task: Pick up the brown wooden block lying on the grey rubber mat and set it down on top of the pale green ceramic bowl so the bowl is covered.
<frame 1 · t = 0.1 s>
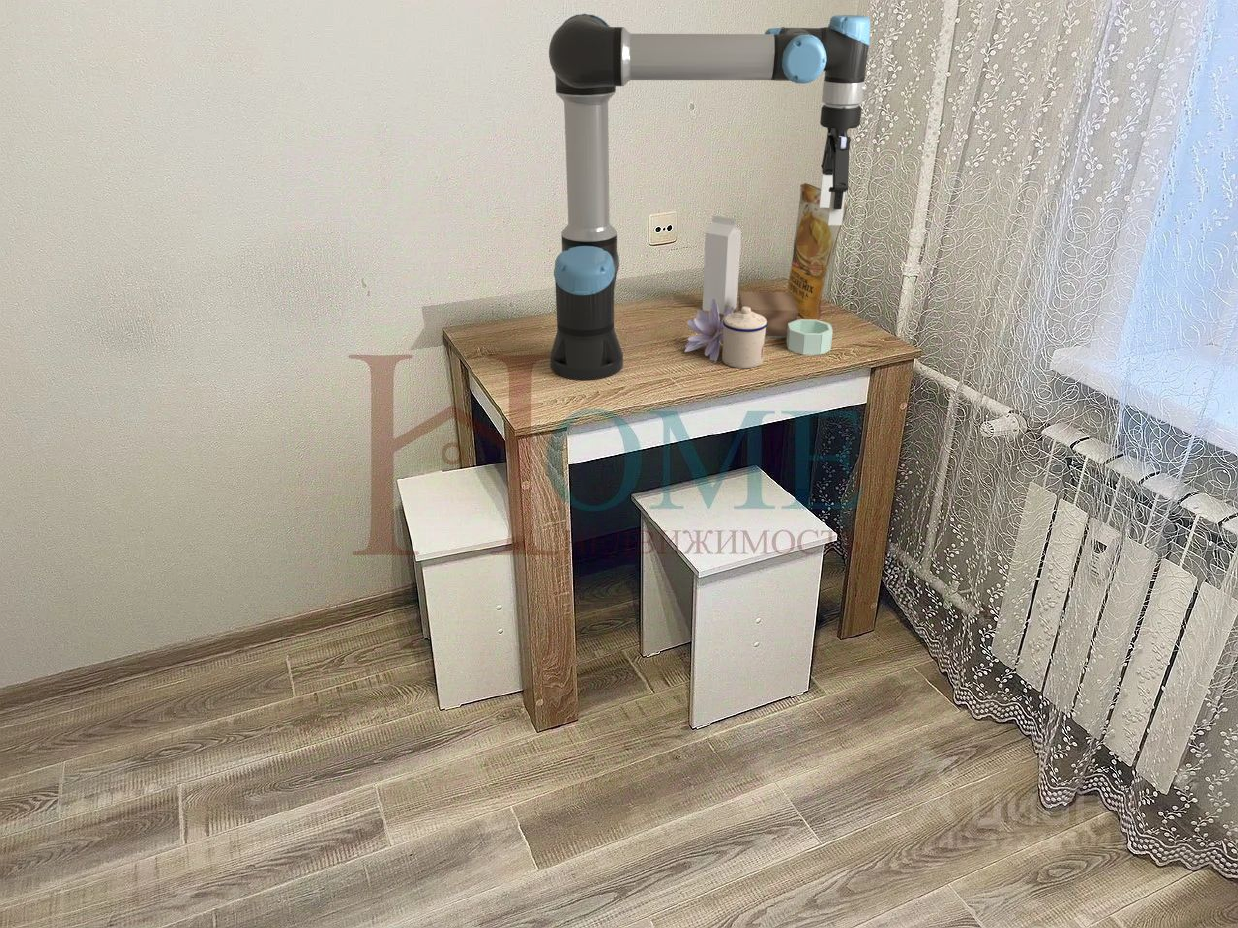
hand: (830, 216, 189), 28 cm above the table, tool pointing down, fingers open, 13 cm apart
milk: (719, 310, 222), on the table
brown wooden block: (765, 326, 211), resting on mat
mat: (765, 327, 211), on the table
water lily: (706, 353, 199), on the table
bowl: (808, 348, 201), on the table
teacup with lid: (739, 359, 196), on the table
pancake mix bag: (805, 311, 221), on the table
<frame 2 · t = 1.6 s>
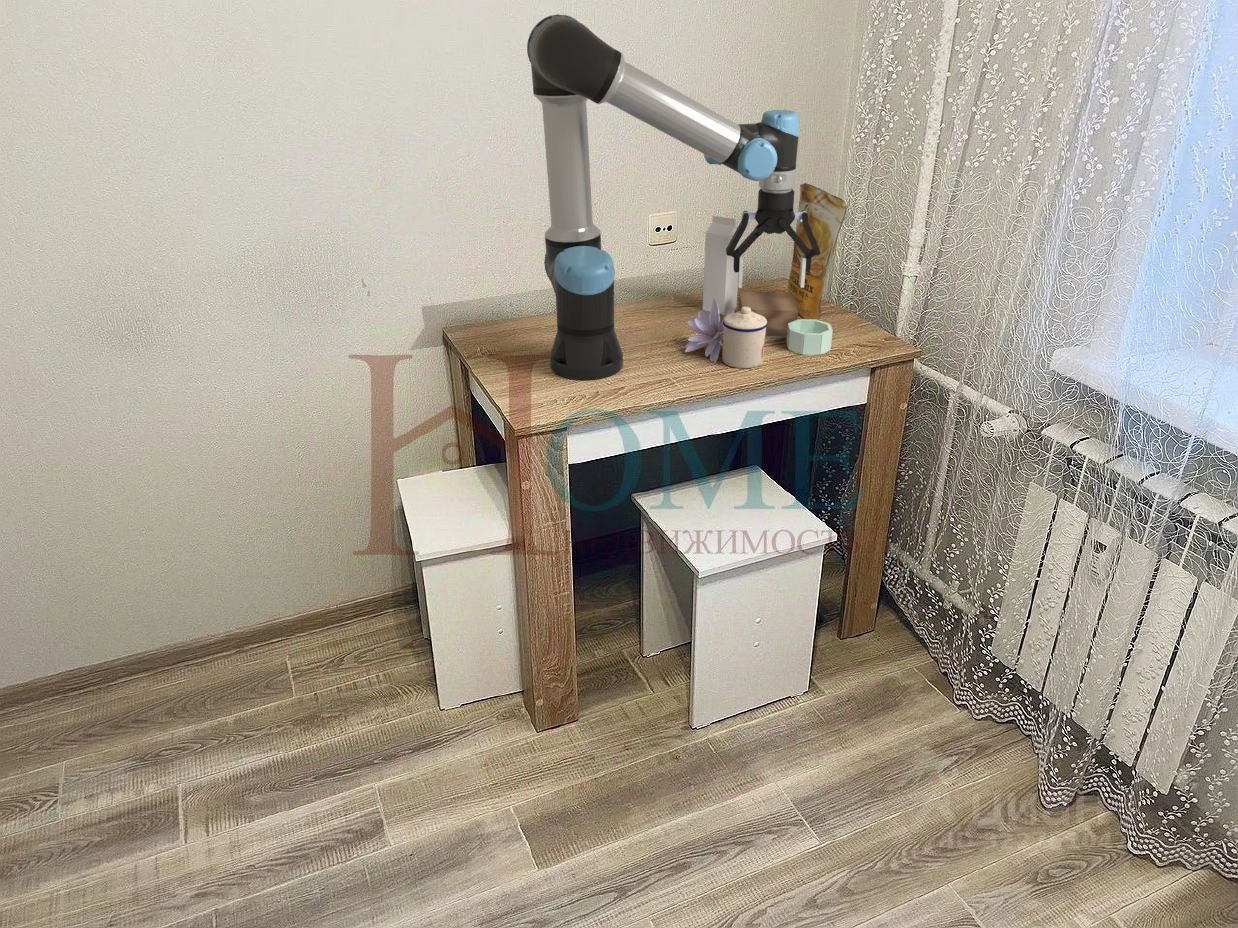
hand: (770, 286, 207), 10 cm above the table, tool pointing down, fingers open, 13 cm apart
nothing on the table moved.
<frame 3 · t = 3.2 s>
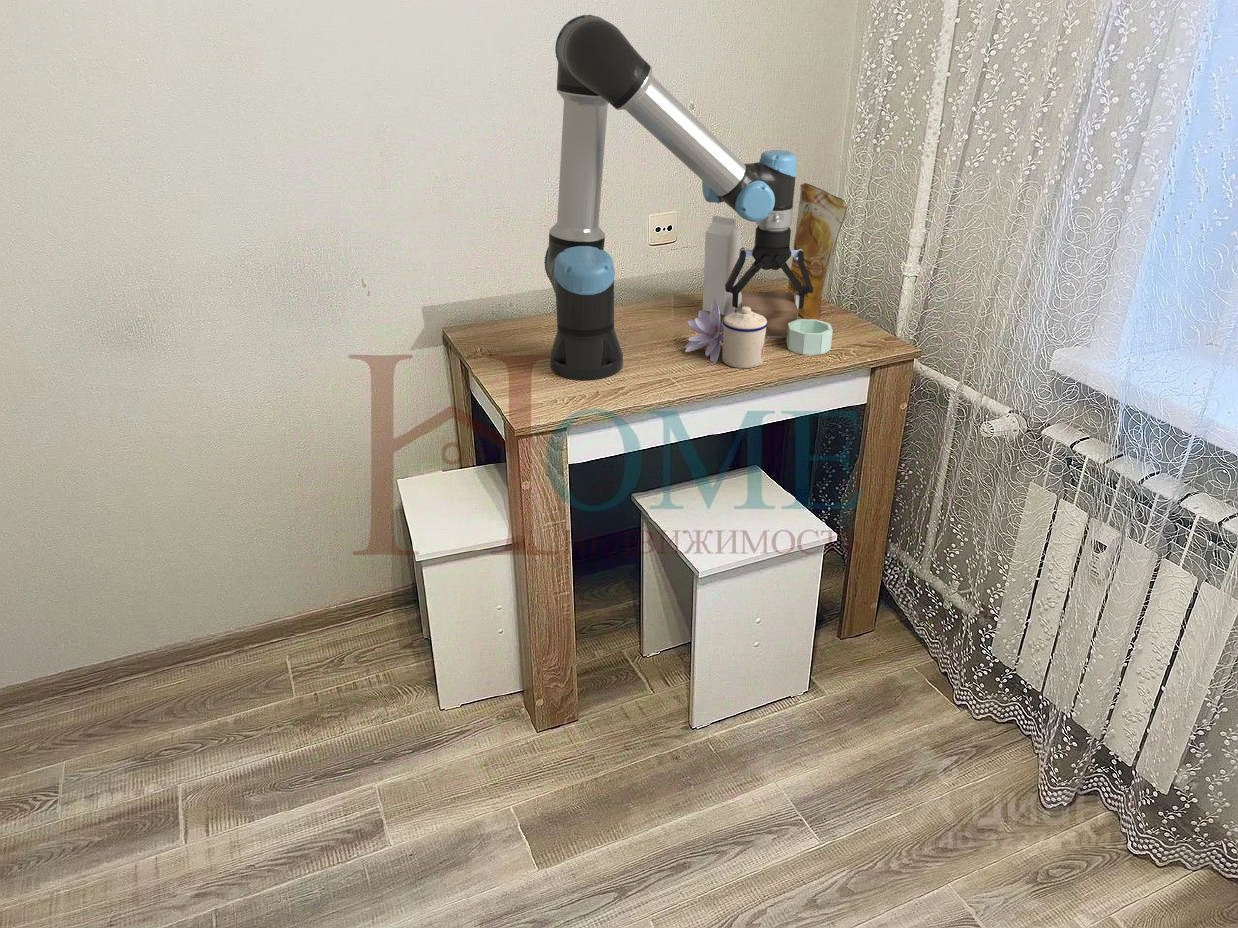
hand: (766, 321, 211), 1 cm above the table, tool pointing down, fingers closed on brown wooden block, 12 cm apart
brown wooden block: (765, 326, 211), resting on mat, touching gripper
water lily: (707, 353, 199), on the table, touching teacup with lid
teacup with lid: (739, 359, 196), on the table, touching water lily
everything else where it was.
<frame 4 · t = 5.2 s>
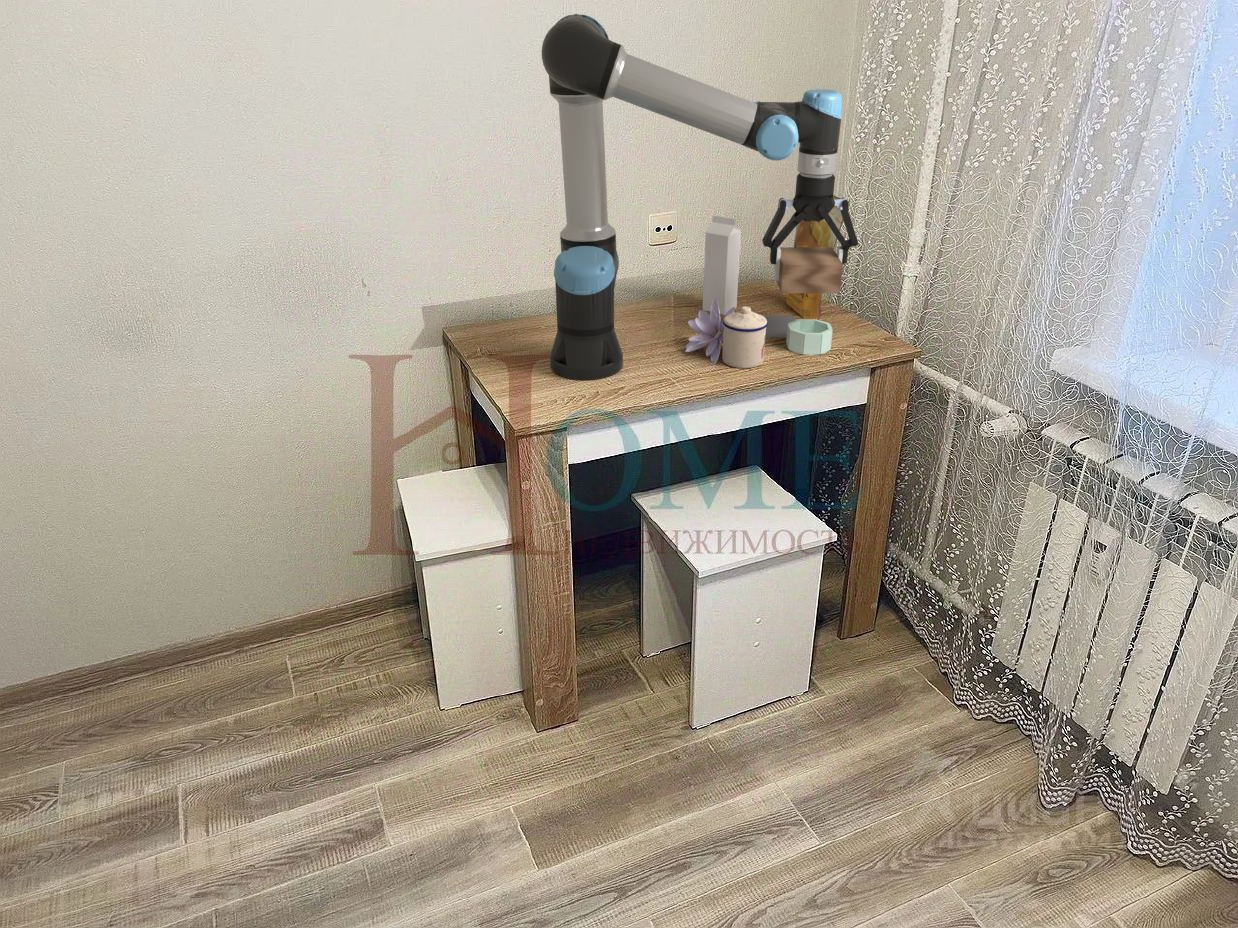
hand: (806, 279, 196), 15 cm above the table, tool pointing down, fingers closed on brown wooden block, 12 cm apart
brown wooden block: (805, 283, 196), point 13 cm above the table, touching gripper
everything else where it was.
when the fingers open (7 cm above the table, at t = 7.5 s): brown wooden block drops 1 cm, resting on bowl.
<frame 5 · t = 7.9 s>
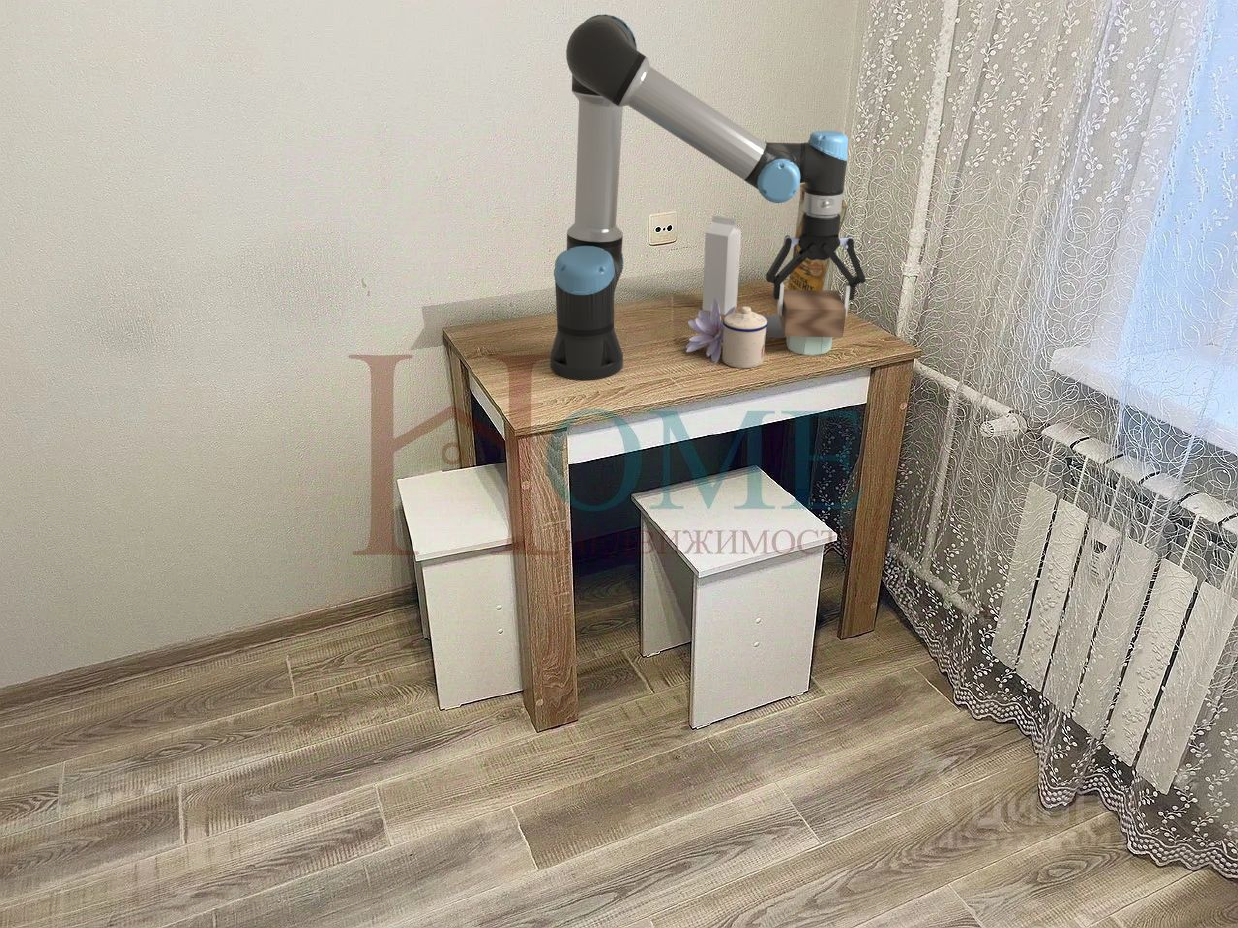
hand: (811, 314, 197), 8 cm above the table, tool pointing down, fingers open, 13 cm apart
brown wooden block: (809, 326, 198), point 5 cm above the table, touching bowl
bowl: (808, 348, 201), on the table, touching brown wooden block
everything else where it was.
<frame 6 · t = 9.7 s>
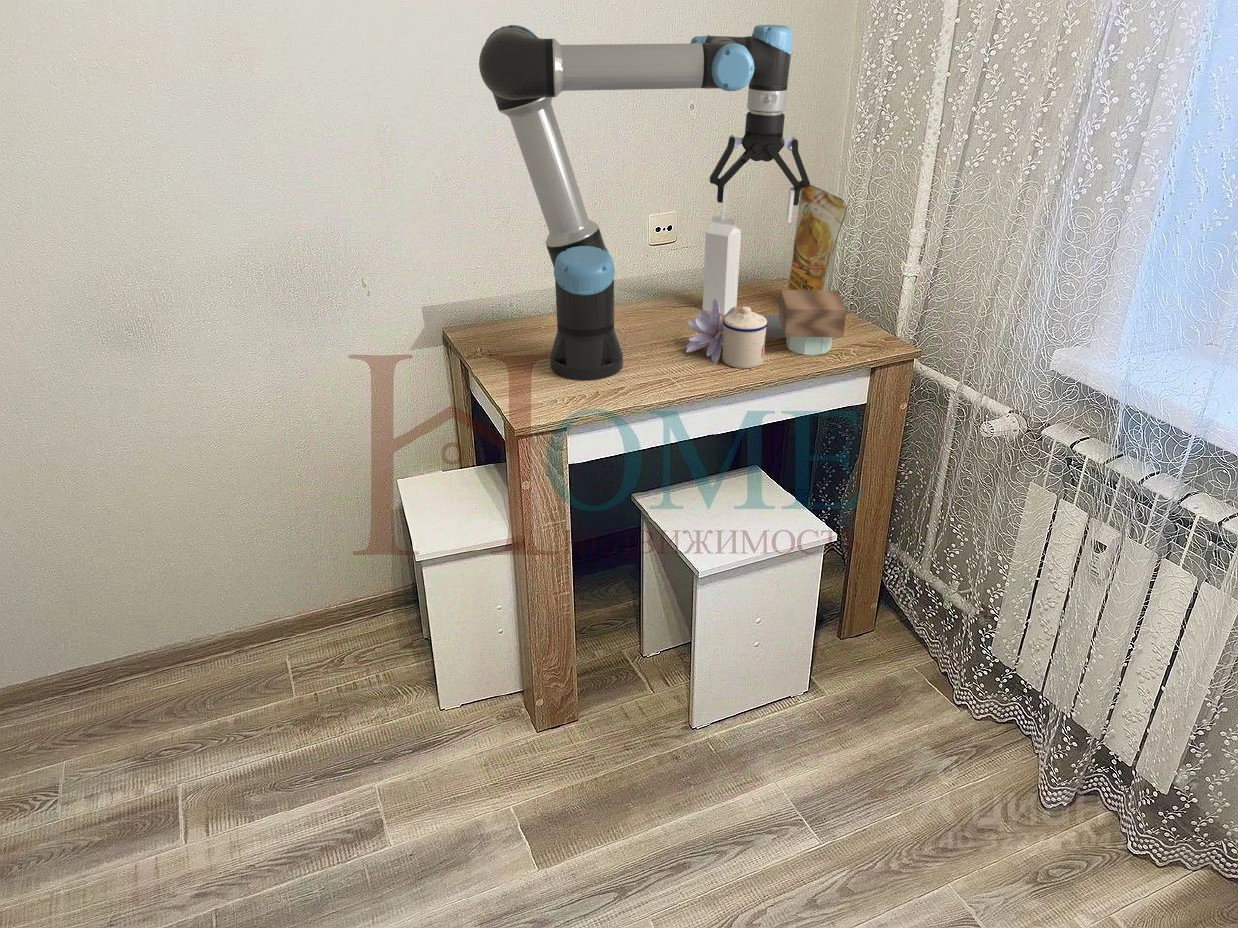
hand: (755, 219, 194), 26 cm above the table, tool pointing down, fingers open, 13 cm apart
nothing on the table moved.
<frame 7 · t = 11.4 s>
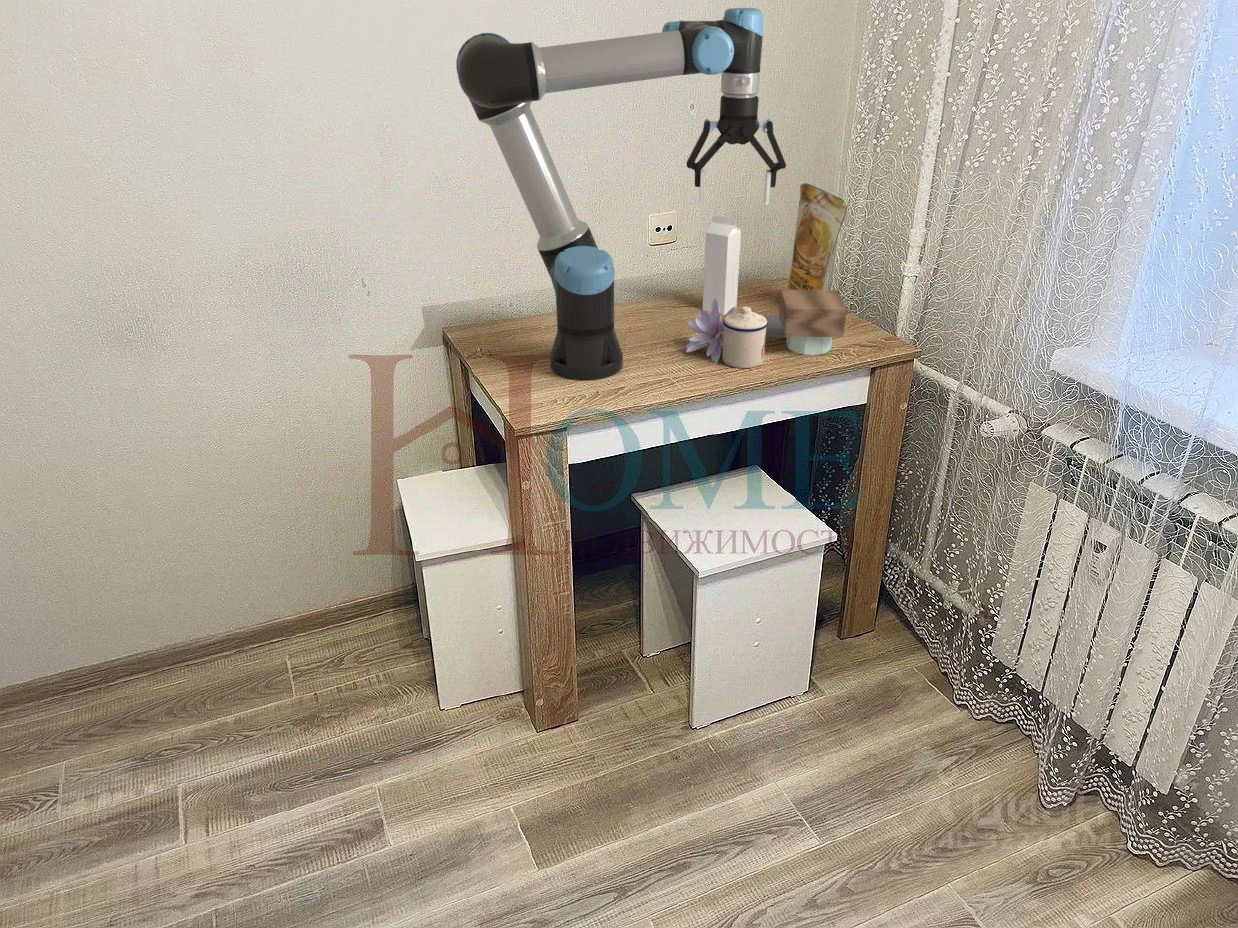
hand: (733, 203, 195), 29 cm above the table, tool pointing down, fingers open, 13 cm apart
nothing on the table moved.
at the end: brown wooden block 0.1 cm off-centre on the bowl, point 5.0 cm above the bowl's base; brown wooden block tilted 0°; the gripper is holding nothing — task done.
